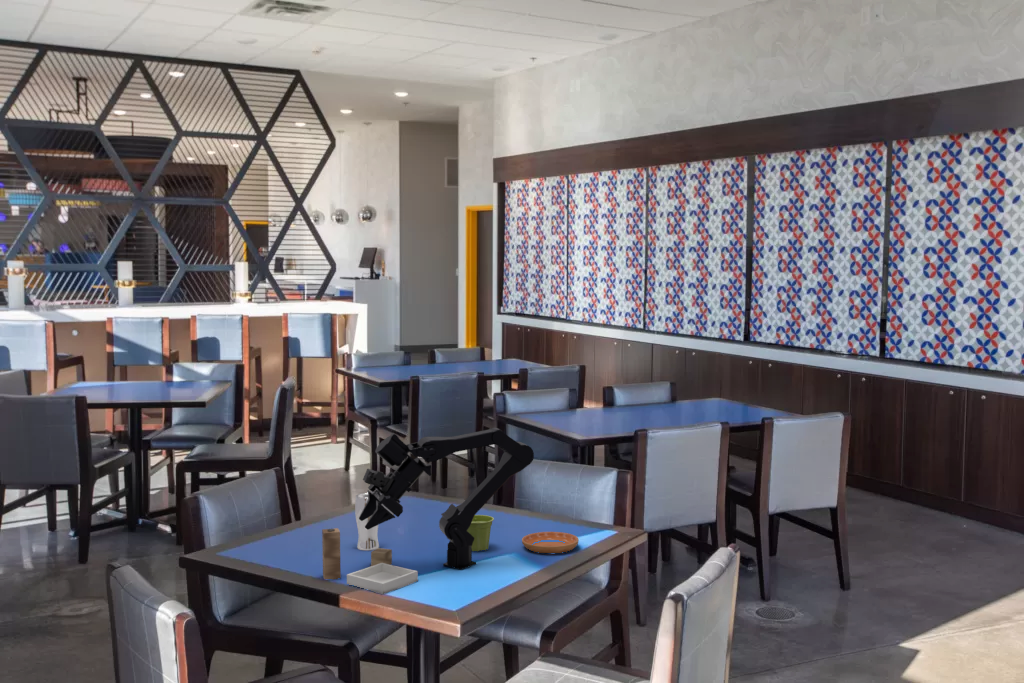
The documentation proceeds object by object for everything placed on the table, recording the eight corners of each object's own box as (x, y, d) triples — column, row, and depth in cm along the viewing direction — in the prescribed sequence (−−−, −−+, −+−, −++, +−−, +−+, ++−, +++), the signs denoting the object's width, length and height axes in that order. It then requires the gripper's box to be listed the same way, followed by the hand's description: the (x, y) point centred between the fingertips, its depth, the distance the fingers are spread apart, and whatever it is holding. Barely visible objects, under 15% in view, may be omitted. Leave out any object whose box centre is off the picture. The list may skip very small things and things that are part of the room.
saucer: (512, 552, 266) (512, 541, 266) (537, 538, 281) (537, 528, 280) (564, 559, 259) (564, 548, 259) (587, 545, 273) (587, 535, 273)
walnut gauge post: (338, 574, 246) (337, 527, 245) (340, 578, 242) (339, 530, 241) (322, 575, 245) (322, 528, 244) (324, 580, 241) (323, 532, 240)
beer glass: (380, 550, 268) (380, 497, 267) (355, 551, 267) (355, 498, 266) (380, 543, 275) (379, 492, 274) (355, 544, 273) (354, 493, 273)
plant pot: (454, 551, 267) (454, 520, 266) (470, 543, 275) (470, 513, 275) (484, 555, 263) (484, 524, 262) (499, 546, 271) (499, 516, 271)
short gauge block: (378, 562, 256) (378, 548, 256) (391, 564, 255) (391, 549, 255) (371, 566, 253) (371, 551, 252) (384, 568, 251) (384, 553, 251)
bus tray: (382, 572, 247) (381, 562, 247) (417, 581, 240) (417, 571, 239) (346, 584, 237) (346, 574, 237) (383, 594, 230) (382, 583, 229)
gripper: (374, 451, 254) (334, 496, 251) (388, 464, 236) (345, 512, 234) (404, 478, 257) (365, 523, 254) (420, 492, 239) (378, 540, 237)
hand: (363, 524), depth 245 cm, fingers open, 9 cm apart
